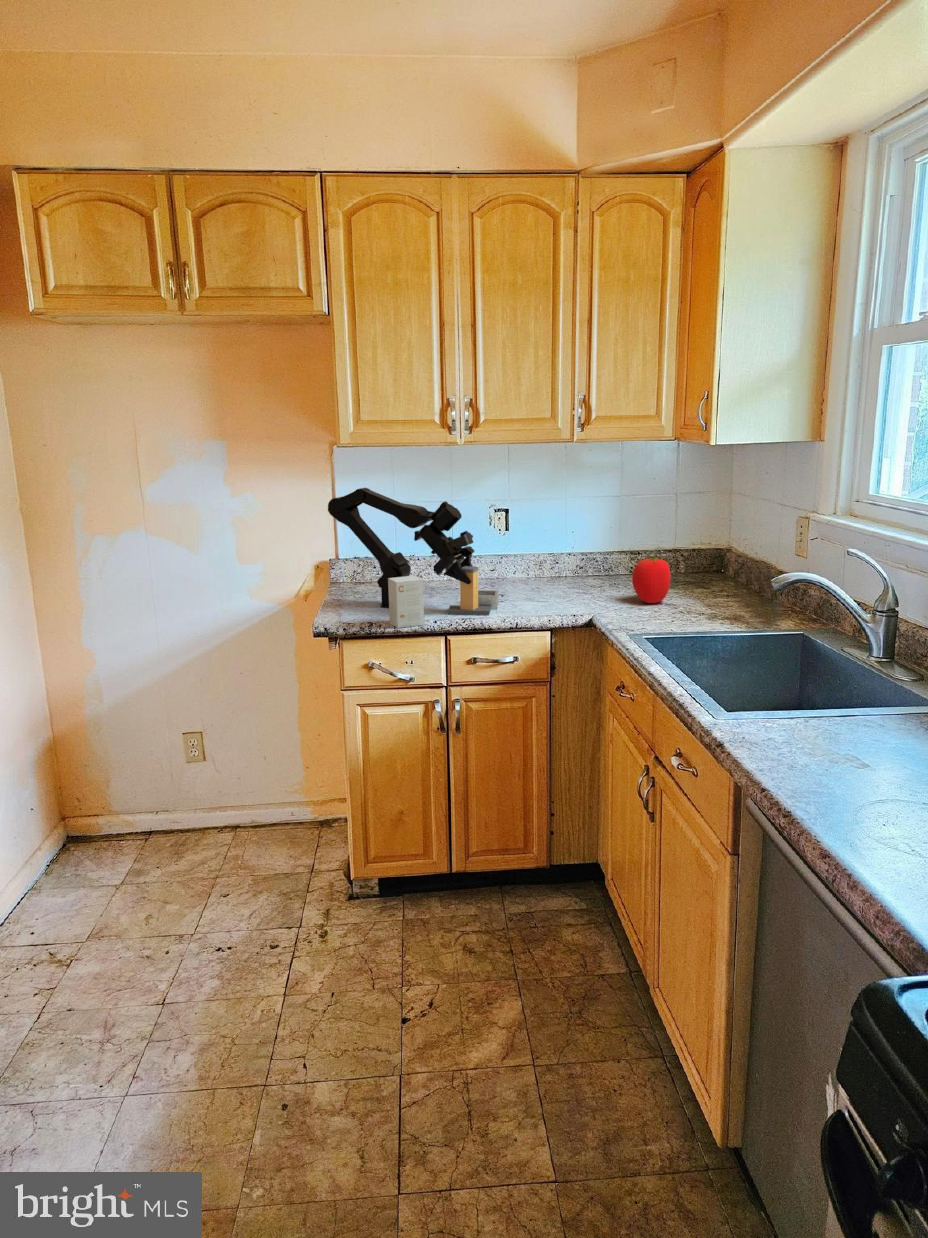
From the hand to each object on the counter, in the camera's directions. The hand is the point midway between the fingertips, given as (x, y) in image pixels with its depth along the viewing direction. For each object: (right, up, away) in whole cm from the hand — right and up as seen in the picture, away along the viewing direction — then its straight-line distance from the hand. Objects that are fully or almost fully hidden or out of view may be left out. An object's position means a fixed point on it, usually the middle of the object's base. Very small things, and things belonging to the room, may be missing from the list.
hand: (473, 581), depth 242 cm
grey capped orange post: (-1, -8, +3) cm, 8 cm away
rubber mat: (-1, -9, +3) cm, 9 cm away
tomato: (+54, -6, +14) cm, 56 cm away
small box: (-19, -13, -10) cm, 25 cm away
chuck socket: (+4, -7, +10) cm, 13 cm away
